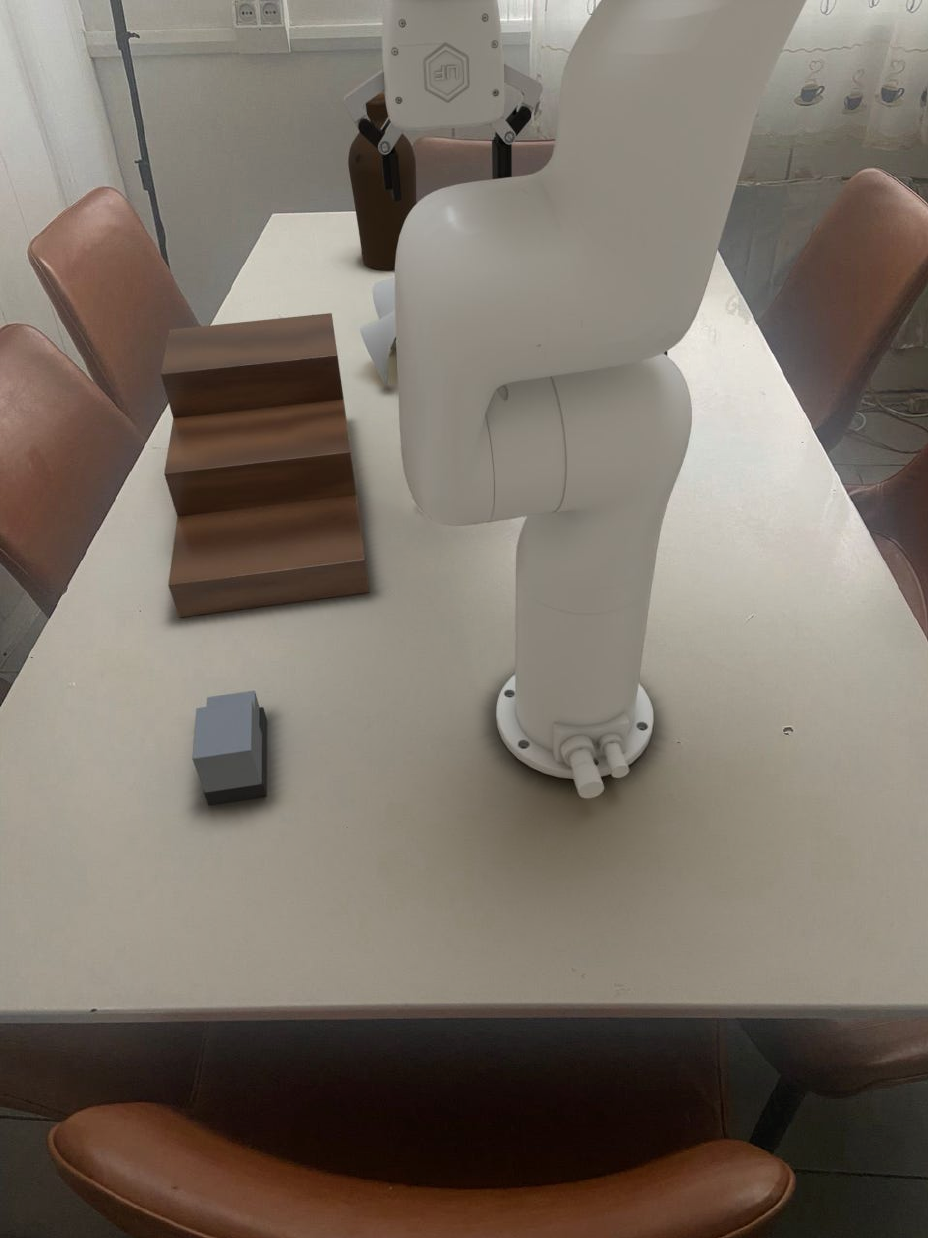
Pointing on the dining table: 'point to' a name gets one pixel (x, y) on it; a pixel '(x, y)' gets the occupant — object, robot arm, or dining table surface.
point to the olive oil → (380, 192)
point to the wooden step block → (260, 467)
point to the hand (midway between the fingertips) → (448, 192)
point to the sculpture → (381, 326)
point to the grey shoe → (231, 748)
